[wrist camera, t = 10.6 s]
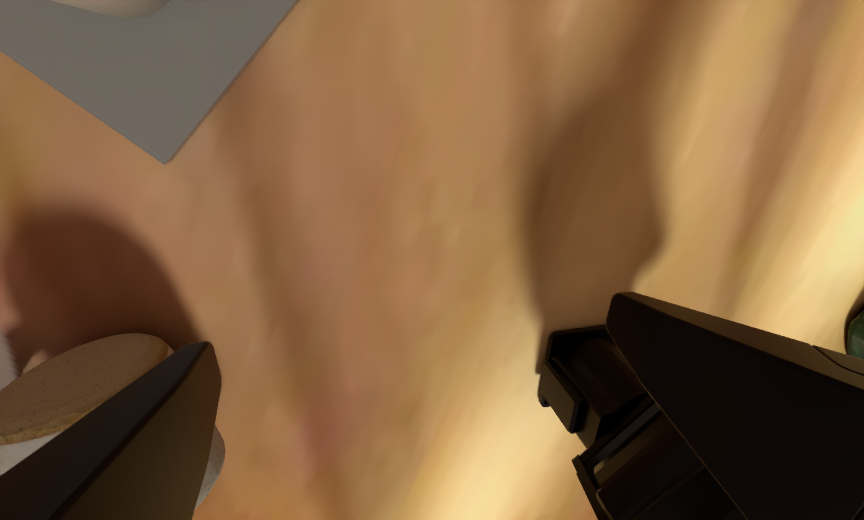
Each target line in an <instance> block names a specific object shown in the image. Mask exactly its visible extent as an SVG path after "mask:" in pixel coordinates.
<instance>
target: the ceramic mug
mask: <svg viewBox="0 0 864 520" xmlns="http://www.w3.org/2000/svg"><path fill="white" fill-rule="evenodd" d="M172 353H174V351H173V350H172V349H171V348H170V347H169V346H168V344H167V343H165V342H164V341H163V340H162V339H160V338H159V337H156V336H153V335H148V334H143V333H126V334H118V335H113V336H109V337H105V338H101V339H98V340H95V341H91V342H88V343H85V344H82V345H79V346H77V347H75V348H72V349H70V350H68V351H65V352H63V353H61V354H59V355H57V356H55V357H53V358H51V359H49V360H47V361H45V362H43V363H41V364H39V365H38V366H36V367H35V368H33V369H31V370H30V371H28V372H26V373H25V374H23V375H22V376H20V377H19V378H17V379H16V380H14V381H13V382H11V383H10V384H9V385H8V386H7V387H5V388H3V389H2V390H0V474H1V475H2V474H3V473H5V472H6V471H8V470H9V469H10V468H12V467H13V466H15V465H16V464H17V463H19V462H20V461H22V460H23V459H24V458H26V457H27V456H29V455H30V454H32V453H33V452H34V451H36V450H37V449H39V448H40V447H41V446H43V445H44V444H46V443H47V442H48V441H50V440H51V439H53V438H54V437H55V436H57V435H58V434H60V433H61V432H63V431H64V430H65V429H67V428H68V427H70V426H71V425H72V424H74V423H75V422H77V421H78V420H79V419H81V418H82V417H84V416H85V415H87V414H88V413H89V412H91V411H92V410H94V409H95V408H96V407H98V406H99V405H101V404H102V403H103V402H105V401H106V400H108V399H109V398H110V397H112V396H113V395H115V394H116V393H118V392H119V391H120V390H122V389H123V388H125V387H126V386H127V385H129V384H130V383H132V382H133V381H134V380H136V379H137V378H139V377H140V376H141V375H143V374H144V373H146V372H147V371H148V370H150V369H151V368H153V367H154V366H156V365H157V364H158V363H160V362H161V361H163V360H164V359H165V358H167V357H168V356H170V355H171V354H172ZM224 458H225V445H224V440H223V438H222V436H221V434H220V433H219V431H218V429H217V427H216V425H215V426H214V432H213V438H212V444H211V450H210V455H209V460H208V464H207V468H206V472H205V476H204V479H203V482H202V486H201V489H200V493H199V496H198V500H197V503H196V507H195V509H196V508H197V507H198V506H199V505H200V504H201V502H202V501H203V500H204V499H205V497H206V496H207V495H208V493H209V492H210V491H211V489H212V488H213V486H214V484H215V482H216V480H217V478H218V477H219V475H220V472H221V469H222V467H223V463H224Z"/></svg>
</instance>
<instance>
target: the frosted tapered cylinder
mask: <svg viewBox="0 0 864 520" xmlns="http://www.w3.org/2000/svg"><path fill="white" fill-rule="evenodd" d="M52 1H55V2H59V3H63V4H66V5H70V6H74V7H77V8H81V9H85V10H88V11H92V12H96V13H99V14H103V15H107V16H110V17H114V18H122V19H136V18H142V17H146V16H149V15H151V14H153V13H155V12H157V11H159V10H160V9H161V8H163V7H164V6H165V5H166V4H167V3H168V2H169V0H52Z"/></svg>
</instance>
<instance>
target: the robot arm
mask: <svg viewBox="0 0 864 520" xmlns="http://www.w3.org/2000/svg"><path fill="white" fill-rule="evenodd" d="M557 338H558V339H557ZM556 339H557V340H556ZM220 389H221V374H220V370H219V366H218V363H217V359H216V355H215V351H214V348H213V345H212V344H211V343H210V342H208V341H204V342H195V343H188V344H185V345H184V346H182V347H181V348H179V349H178V350H177V351H175V352H174V353H172V354H171V355H170V356H168V357H167V358H165V359H164V360H163V361H161V362H160V363H158V364H157V365H156V366H154V367H153V368H151V369H150V370H148V371H147V372H146V373H144V374H143V375H141V376H140V377H139V378H137V379H136V380H134V381H133V382H132V383H130V384H129V385H127V386H126V387H125V388H123V389H122V390H120V391H119V392H118V393H116V394H115V395H113V396H112V397H110V398H109V399H108V400H106V401H105V402H103V403H102V404H101V405H99V406H98V407H96V408H95V409H94V410H92V411H91V412H89V413H88V414H87V415H85V416H84V417H82V418H81V419H79V420H78V421H77V422H75V423H74V424H72V425H71V426H70V427H68V428H67V429H65V430H64V431H63V432H61V433H60V434H58V435H57V436H55V437H54V438H53V439H51V440H50V441H48V442H47V443H46V444H44V445H43V446H41V447H40V448H39V449H37V450H36V451H34V452H33V453H32V454H30V455H29V456H27V457H26V458H24V459H23V460H22V461H20V462H19V463H17V464H16V465H15V466H13V467H12V468H10V469H9V470H8V471H6V472H5V473H3V474H2V475H1V476H0V520H192V517H193V513H194V510H195V507H196V503H197V500H198V496H199V493H200V489H201V486H202V482H203V479H204V476H205V472H206V468H207V464H208V460H209V455H210V450H211V444H212V438H213V432H214V426H215V420H216V414H217V407H218V401H219V395H220ZM539 402H540V404H541V405H542V406H543V407H549V406H551V407H552V409H553V410H554V412H555V413H556V415H557V416H558V418H559V419H560V421H561V422H562V423H563V425H564V426H565V428H566V429H567V431H568V432H570V433H571V434H573V433H576V434H577V436H578V437H579V439H580V440H581V441H582V443H583V444H584V446H585V447H586V450H585V451H584V452H583V453H582V454H581V455H577V456H576V457H575V458H574V459H572V463H573V465H574V467H575V469H576V471H577V473H576V474H577V476H578V479H579V481H580V483H581V485H582V487H583V489H584V491H585V493H586V495H587V498H588V500H589V502H590V504H591V506H592V508H593V510H594V512H595V514H596V517H597V519H598V520H864V360H863V359H860V358H856V357H853V356H849V355H846V354H842V353H839V352H835V351H832V350H829V349H825V348H822V347H818V346H815V345H813V346H811V345H810V344H808V343H805V342H801V341H798V340H794V339H791V338H788V337H784V336H781V335H777V334H774V333H771V332H767V331H764V330H760V329H757V328H754V327H750V326H747V325H743V324H740V323H737V322H733V321H730V320H726V319H723V318H720V317H716V316H713V315H710V314H706V313H703V312H699V311H696V310H693V309H689V308H686V307H682V306H679V305H676V304H672V303H669V302H665V301H662V300H659V299H655V298H652V297H648V296H645V295H642V294H638V293H635V292H621V293H616V294H614V295H613V297H612V299H611V303H610V307H609V311H608V315H607V319H606V325H602V326H594V327H587V328H579V329H571V330H564V331H556V332H554V333H552V334H551V335H550V337H549V341H548V347H547V353H546V359H545V362H544V366H543V371H542V377H541V383H540V394H539Z"/></svg>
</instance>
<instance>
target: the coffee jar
mask: <svg viewBox="0 0 864 520" xmlns="http://www.w3.org/2000/svg"><path fill="white" fill-rule="evenodd" d="M847 351H848V355H849V356H853V357H856V358H860V359H863V360H864V310H863V311H862V312H861V313H860V314H859V315H858V316H857V317H856V318H855V319H853V321H852V322H851V323H850V326H849V329H848V341H847Z"/></svg>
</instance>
